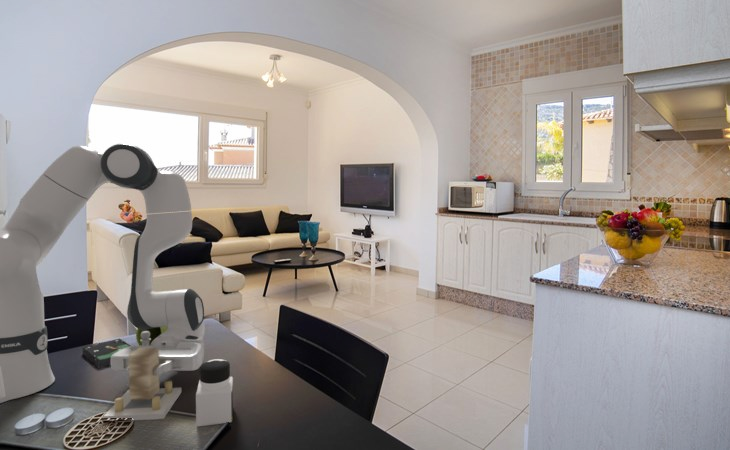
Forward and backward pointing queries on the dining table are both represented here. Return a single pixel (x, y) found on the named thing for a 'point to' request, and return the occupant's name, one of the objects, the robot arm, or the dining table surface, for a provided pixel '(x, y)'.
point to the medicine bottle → (214, 394)
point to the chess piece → (145, 338)
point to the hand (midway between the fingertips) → (142, 372)
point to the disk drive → (103, 351)
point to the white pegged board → (145, 405)
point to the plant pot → (153, 334)
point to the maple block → (143, 373)
